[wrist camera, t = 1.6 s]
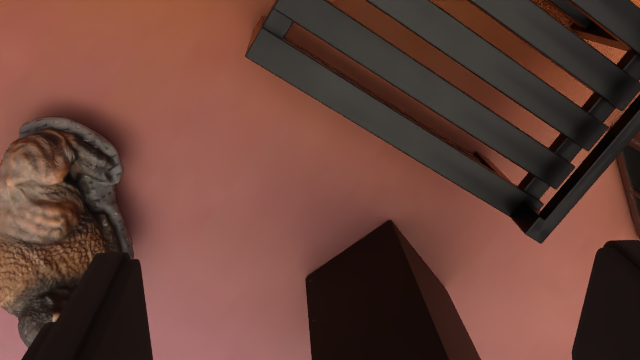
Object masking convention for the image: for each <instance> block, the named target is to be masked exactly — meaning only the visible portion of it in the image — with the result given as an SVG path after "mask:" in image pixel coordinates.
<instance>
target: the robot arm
mask: <svg viewBox="0 0 640 360" xmlns="http://www.w3.org/2000/svg"><path fill="white" fill-rule="evenodd" d="M572 359H573V360H640V241H639V240H617V241H608V242H607V243H606V244H605V245H604V247H603V248H600V249H599V250H598V251H597V253H596V255H595V259H594V264H593V268H592V272H591V276H590V280H589V284H588V288H587V292H586V296H585V300H584V304H583V308H582V312H581V316H580V320H579V324H578V329H577V333H576V337H575V341H574V345H573V349H572ZM22 360H153V356H152V348H151V341H150V333H149V325H148V318H147V310H146V302H145V295H144V287H143V280H142V272H141V265H140V262H139V260H138V259H131V258H130V255H129V253H127V252H112V253H97V254H96V255H95V256H94V258H93V260H92V261H91V263H90V265H89V266H88V268H87V270H86V271H85V273H84V275H83V276H82V278H81V280H80V282H79V283H78V285H77V287H76V288H75V290H74V292H73V293H72V295H71V297H70V298H69V300H68V302H67V304H66V305H65V307H64V309H63V310H62V312H61V314H60V315H59V317H58V319H57V321H56V322H48V323H46V324H44V326H43V327H42V328H41V329H40V331H39V332H38V334H37V335H36V337H35V339H34V340H33V342H32V344H31V345H30V347H29V348H28V350H27V352H26V353H25V355H24V356H23V358H22Z"/></svg>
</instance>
